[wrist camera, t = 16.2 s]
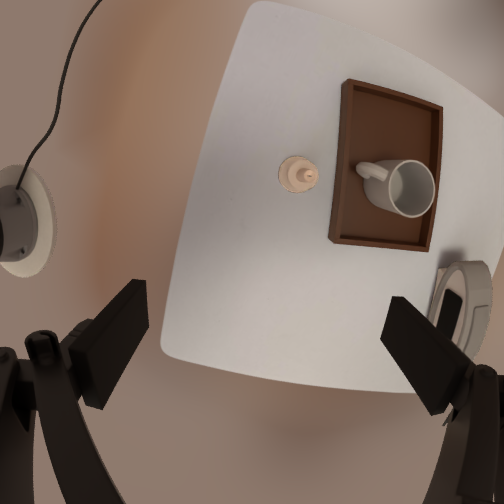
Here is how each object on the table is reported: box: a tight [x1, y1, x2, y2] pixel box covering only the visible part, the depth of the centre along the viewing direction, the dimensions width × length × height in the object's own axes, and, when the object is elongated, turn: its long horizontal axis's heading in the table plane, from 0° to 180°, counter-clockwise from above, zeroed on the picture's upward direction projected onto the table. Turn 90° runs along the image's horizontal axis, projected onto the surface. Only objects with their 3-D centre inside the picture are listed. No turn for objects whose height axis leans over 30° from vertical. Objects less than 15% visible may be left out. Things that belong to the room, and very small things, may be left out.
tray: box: [328, 79, 443, 252], centre depth 39 cm, size 24×17×3 cm
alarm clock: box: [428, 261, 492, 362], centre depth 41 cm, size 23×6×13 cm, turn 0°
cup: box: [356, 160, 435, 218], centre depth 36 cm, size 7×10×9 cm
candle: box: [278, 156, 319, 193], centre depth 36 cm, size 5×5×10 cm
